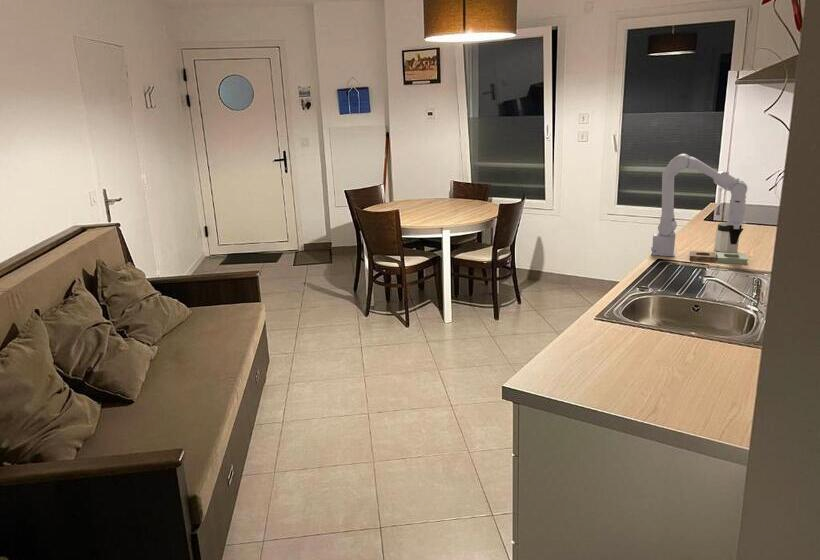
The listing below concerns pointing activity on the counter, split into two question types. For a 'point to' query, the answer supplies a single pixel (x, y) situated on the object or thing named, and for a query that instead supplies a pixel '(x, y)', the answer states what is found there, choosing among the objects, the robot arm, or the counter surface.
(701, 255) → the socket block
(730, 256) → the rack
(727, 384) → the counter surface
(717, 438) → the counter surface
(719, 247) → the jar
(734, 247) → the peg
